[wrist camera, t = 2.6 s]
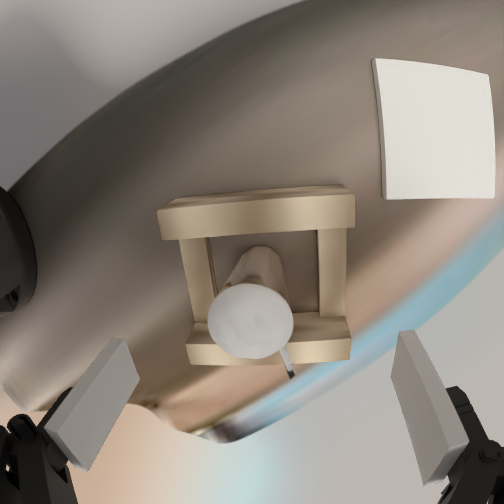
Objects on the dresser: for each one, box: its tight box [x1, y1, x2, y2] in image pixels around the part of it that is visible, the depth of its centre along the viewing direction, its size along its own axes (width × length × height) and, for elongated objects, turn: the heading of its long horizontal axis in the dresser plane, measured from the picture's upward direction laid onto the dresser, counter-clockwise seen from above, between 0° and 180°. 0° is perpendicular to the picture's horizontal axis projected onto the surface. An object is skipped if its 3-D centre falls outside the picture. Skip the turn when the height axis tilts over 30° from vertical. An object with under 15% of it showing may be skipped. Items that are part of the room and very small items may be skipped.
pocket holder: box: [156, 185, 355, 365], centre depth 22 cm, size 12×12×4 cm
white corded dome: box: [208, 246, 296, 380], centre depth 19 cm, size 4×5×10 cm
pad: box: [372, 58, 495, 200], centre depth 18 cm, size 10×10×1 cm
